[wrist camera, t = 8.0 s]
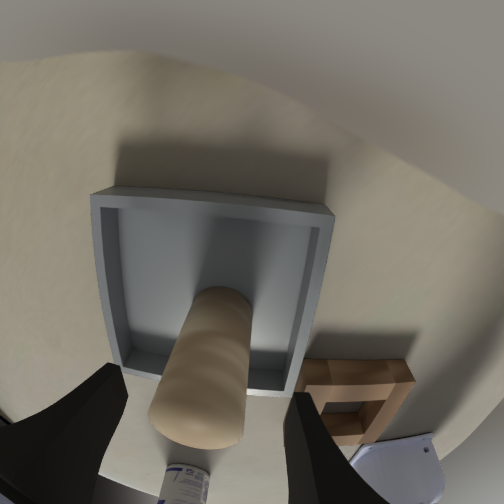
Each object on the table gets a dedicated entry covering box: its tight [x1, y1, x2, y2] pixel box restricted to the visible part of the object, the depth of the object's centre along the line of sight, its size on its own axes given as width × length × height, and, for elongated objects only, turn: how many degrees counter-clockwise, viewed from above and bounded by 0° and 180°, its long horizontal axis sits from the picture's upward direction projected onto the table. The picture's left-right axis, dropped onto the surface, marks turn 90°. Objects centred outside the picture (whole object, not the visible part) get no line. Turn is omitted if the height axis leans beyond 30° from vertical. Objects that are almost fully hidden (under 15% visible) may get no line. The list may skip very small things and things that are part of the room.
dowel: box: [148, 286, 253, 449], centre depth 13 cm, size 4×4×8 cm
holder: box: [283, 359, 416, 447], centre depth 19 cm, size 8×8×2 cm
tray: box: [90, 186, 335, 398], centre depth 15 cm, size 12×12×2 cm
